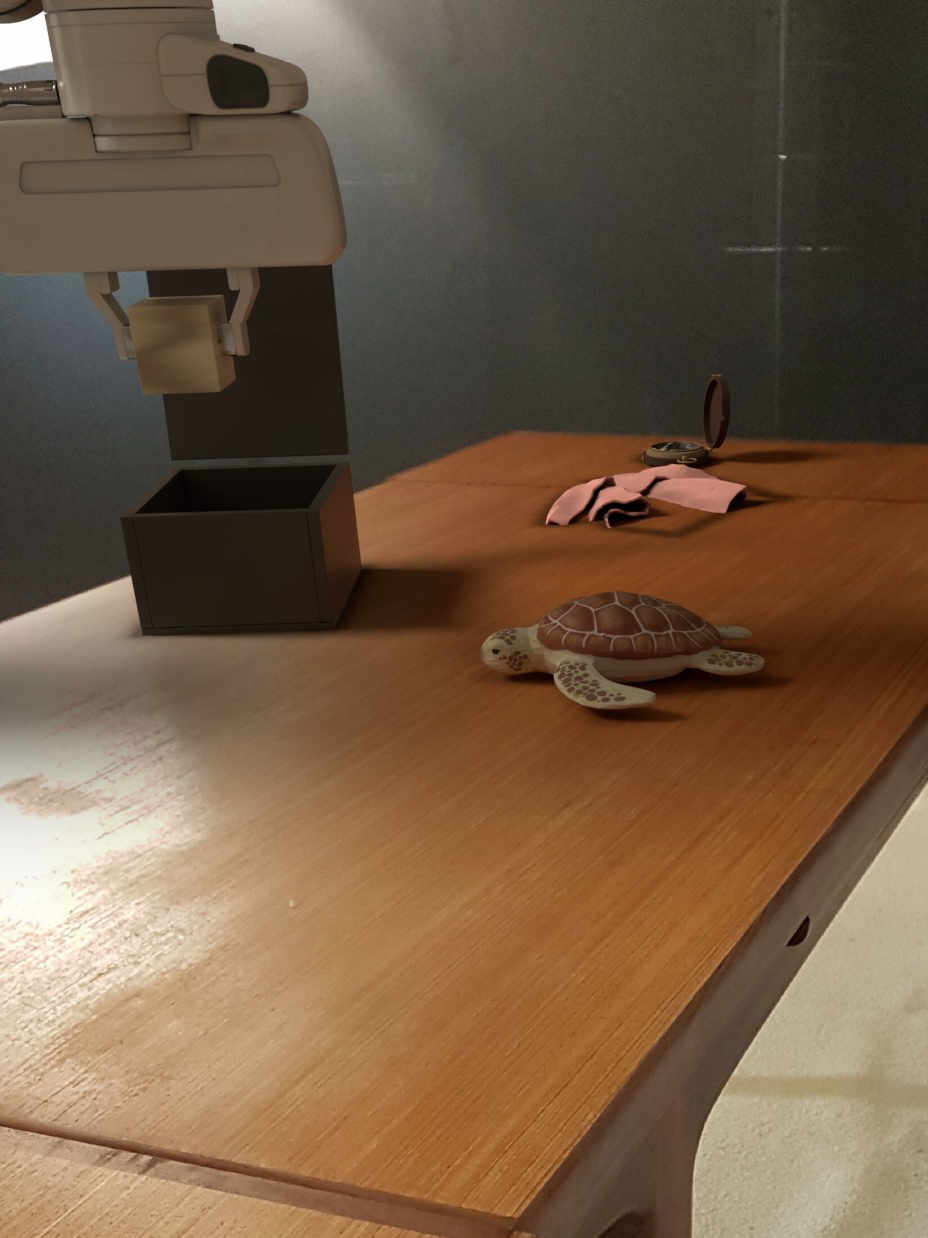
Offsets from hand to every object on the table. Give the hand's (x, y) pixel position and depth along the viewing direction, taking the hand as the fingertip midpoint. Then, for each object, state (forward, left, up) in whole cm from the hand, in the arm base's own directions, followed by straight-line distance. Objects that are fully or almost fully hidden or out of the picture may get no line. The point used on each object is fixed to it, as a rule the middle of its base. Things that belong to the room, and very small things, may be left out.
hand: (186, 356), depth 96 cm
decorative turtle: (+25, -9, -17) cm, 32 cm away
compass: (+32, +54, -17) cm, 65 cm away
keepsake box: (0, +10, -17) cm, 20 cm away
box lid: (0, +19, -1) cm, 19 cm away
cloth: (+28, +36, -17) cm, 49 cm away
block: (0, 0, -2) cm, 2 cm away
